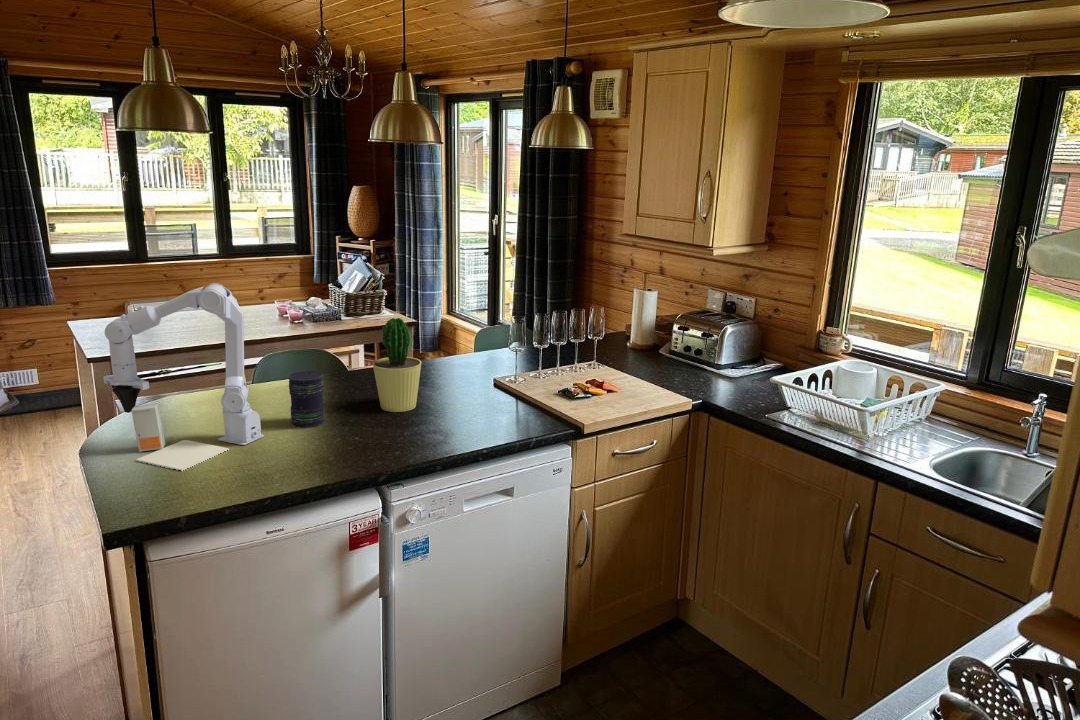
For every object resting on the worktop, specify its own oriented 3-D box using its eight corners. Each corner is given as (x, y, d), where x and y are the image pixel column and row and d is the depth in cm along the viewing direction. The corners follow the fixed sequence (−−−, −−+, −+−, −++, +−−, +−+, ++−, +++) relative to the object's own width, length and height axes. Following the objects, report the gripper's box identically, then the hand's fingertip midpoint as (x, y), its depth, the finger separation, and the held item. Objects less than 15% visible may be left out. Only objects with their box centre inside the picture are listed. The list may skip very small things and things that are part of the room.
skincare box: (138, 452, 201) (130, 410, 198) (142, 447, 205) (134, 405, 202) (163, 449, 202) (155, 407, 199) (166, 444, 206) (158, 402, 203)
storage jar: (315, 429, 221) (312, 381, 217) (285, 426, 223) (281, 378, 219) (331, 418, 230) (328, 372, 227) (301, 416, 232) (298, 369, 228)
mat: (229, 450, 204) (228, 448, 204) (182, 471, 190) (181, 469, 190) (184, 441, 210) (184, 439, 210) (135, 461, 195) (135, 459, 195)
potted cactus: (427, 400, 250) (425, 312, 242) (415, 415, 235) (413, 321, 228) (382, 398, 252) (379, 310, 244) (367, 412, 237) (364, 319, 229)
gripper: (90, 363, 199) (97, 412, 203) (130, 370, 194) (136, 419, 198) (114, 357, 206) (120, 404, 209) (153, 363, 200) (158, 411, 204)
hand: (129, 411), depth 204 cm, fingers closed
